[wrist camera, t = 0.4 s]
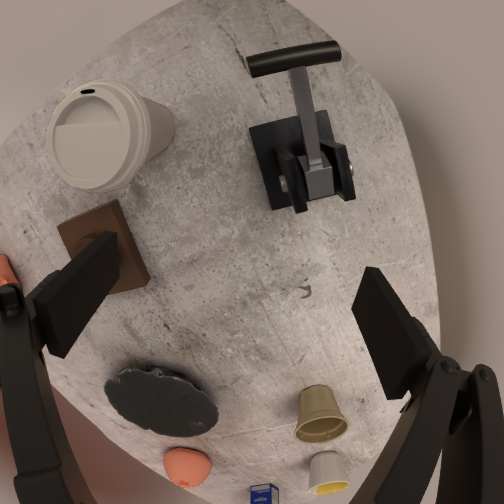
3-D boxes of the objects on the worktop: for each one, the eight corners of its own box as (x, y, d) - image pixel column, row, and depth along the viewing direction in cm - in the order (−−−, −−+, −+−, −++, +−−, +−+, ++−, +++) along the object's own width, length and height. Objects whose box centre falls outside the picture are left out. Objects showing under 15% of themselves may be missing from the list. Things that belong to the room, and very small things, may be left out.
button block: (64, 221, 37) (49, 231, 33) (117, 198, 35) (103, 207, 32) (97, 291, 41) (86, 306, 38) (151, 278, 40) (142, 293, 37)
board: (241, 413, 53) (240, 433, 48) (152, 424, 56) (147, 442, 52) (185, 336, 44) (179, 359, 40) (90, 359, 48) (80, 377, 43)
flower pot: (284, 386, 49) (287, 425, 41) (336, 372, 48) (345, 410, 40) (297, 412, 53) (300, 448, 45) (343, 400, 51) (351, 435, 44)
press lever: (243, 54, 17) (247, 60, 15) (329, 37, 16) (342, 43, 14) (281, 188, 26) (286, 206, 24) (346, 172, 25) (356, 189, 23)
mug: (300, 453, 61) (304, 488, 51) (340, 443, 59) (347, 478, 50) (312, 469, 66) (316, 500, 57) (347, 460, 65) (353, 491, 55)
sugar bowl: (217, 450, 60) (214, 485, 51) (206, 468, 66) (202, 499, 57) (168, 439, 59) (160, 474, 50) (163, 458, 65) (156, 488, 55)
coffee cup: (202, 109, 31) (164, 101, 17) (166, 180, 35) (113, 220, 21) (134, 79, 29) (64, 62, 16) (103, 148, 33) (27, 171, 19)
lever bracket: (248, 127, 32) (244, 130, 20) (324, 110, 31) (361, 104, 19) (271, 208, 36) (279, 252, 24) (342, 190, 35) (383, 225, 23)
